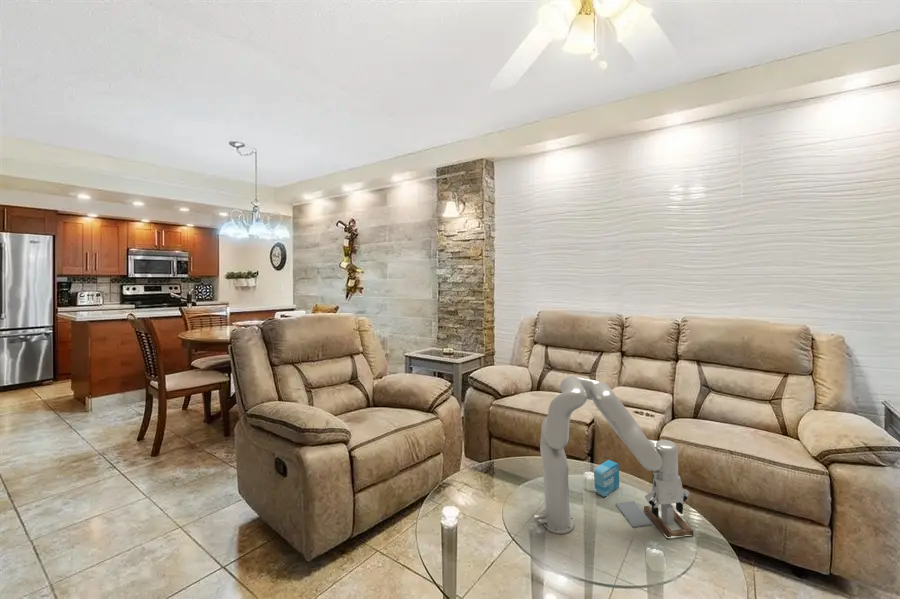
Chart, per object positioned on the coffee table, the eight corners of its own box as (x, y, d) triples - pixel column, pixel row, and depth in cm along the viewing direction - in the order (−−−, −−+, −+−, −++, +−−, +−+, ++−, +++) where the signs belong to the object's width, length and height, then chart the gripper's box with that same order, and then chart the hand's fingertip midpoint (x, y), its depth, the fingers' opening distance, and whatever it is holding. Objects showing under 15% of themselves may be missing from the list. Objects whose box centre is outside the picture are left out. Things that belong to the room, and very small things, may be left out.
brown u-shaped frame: (667, 539, 151) (667, 534, 151) (644, 511, 167) (643, 506, 166) (693, 535, 152) (693, 530, 151) (667, 507, 167) (667, 503, 167)
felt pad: (633, 527, 158) (632, 526, 158) (615, 504, 172) (615, 503, 172) (652, 525, 159) (652, 523, 159) (634, 502, 173) (633, 500, 172)
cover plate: (669, 535, 153) (669, 516, 152) (651, 514, 165) (650, 495, 164) (685, 533, 153) (684, 513, 152) (665, 512, 165) (665, 493, 164)
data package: (603, 498, 177) (602, 473, 175) (594, 493, 181) (593, 468, 179) (619, 486, 183) (618, 462, 182) (610, 482, 187) (609, 458, 185)
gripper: (650, 481, 152) (651, 523, 154) (694, 475, 153) (695, 516, 155) (639, 470, 159) (640, 510, 162) (682, 464, 160) (682, 504, 163)
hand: (667, 513), depth 159 cm, fingers open, 9 cm apart
